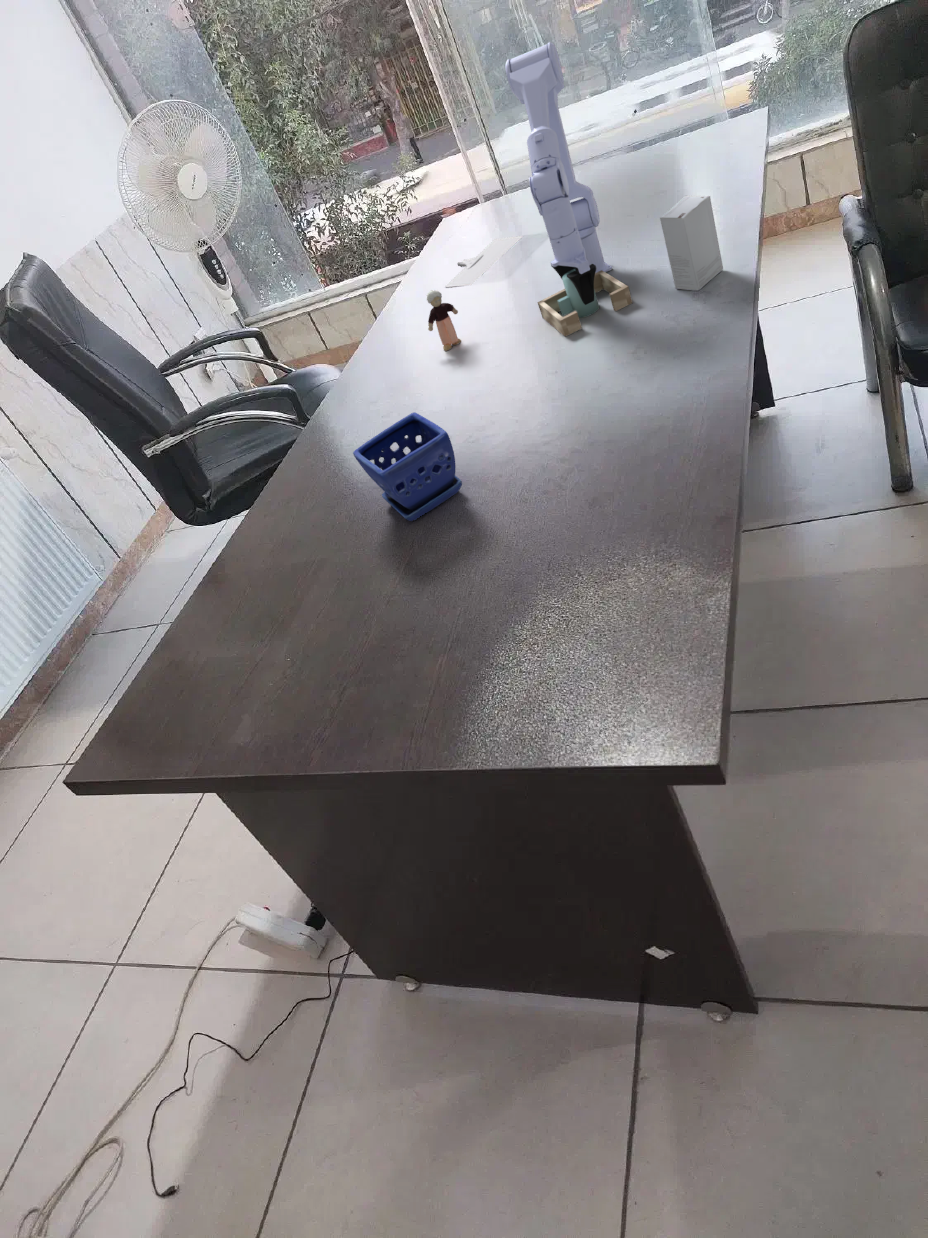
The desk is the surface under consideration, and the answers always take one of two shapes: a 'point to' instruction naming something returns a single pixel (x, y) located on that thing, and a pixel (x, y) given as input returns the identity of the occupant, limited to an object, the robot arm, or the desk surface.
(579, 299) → the teal cylinder with tab
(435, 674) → the desk surface
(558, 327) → the cradle
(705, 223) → the skincare box
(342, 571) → the desk surface
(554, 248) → the robot arm
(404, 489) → the flower pot
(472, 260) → the white flat panel
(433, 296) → the grandmother figurine
